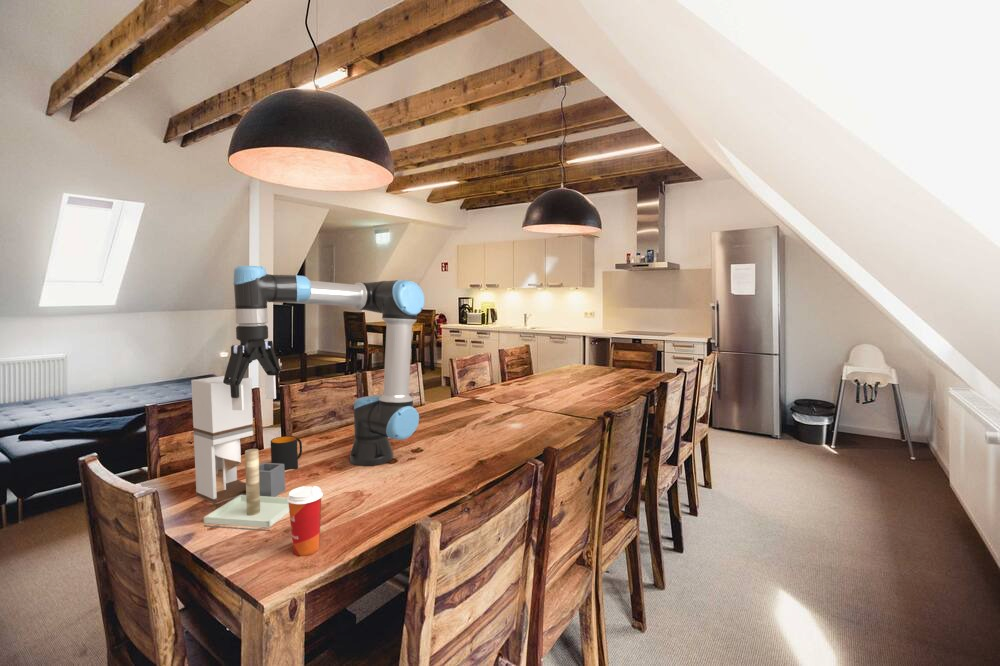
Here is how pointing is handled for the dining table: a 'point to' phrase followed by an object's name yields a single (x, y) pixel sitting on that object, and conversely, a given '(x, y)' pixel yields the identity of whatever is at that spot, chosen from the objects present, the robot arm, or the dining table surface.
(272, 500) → the tray
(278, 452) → the mug
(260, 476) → the pen cup
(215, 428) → the white coffee maker
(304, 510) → the paper cup
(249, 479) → the dowel
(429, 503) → the dining table surface
